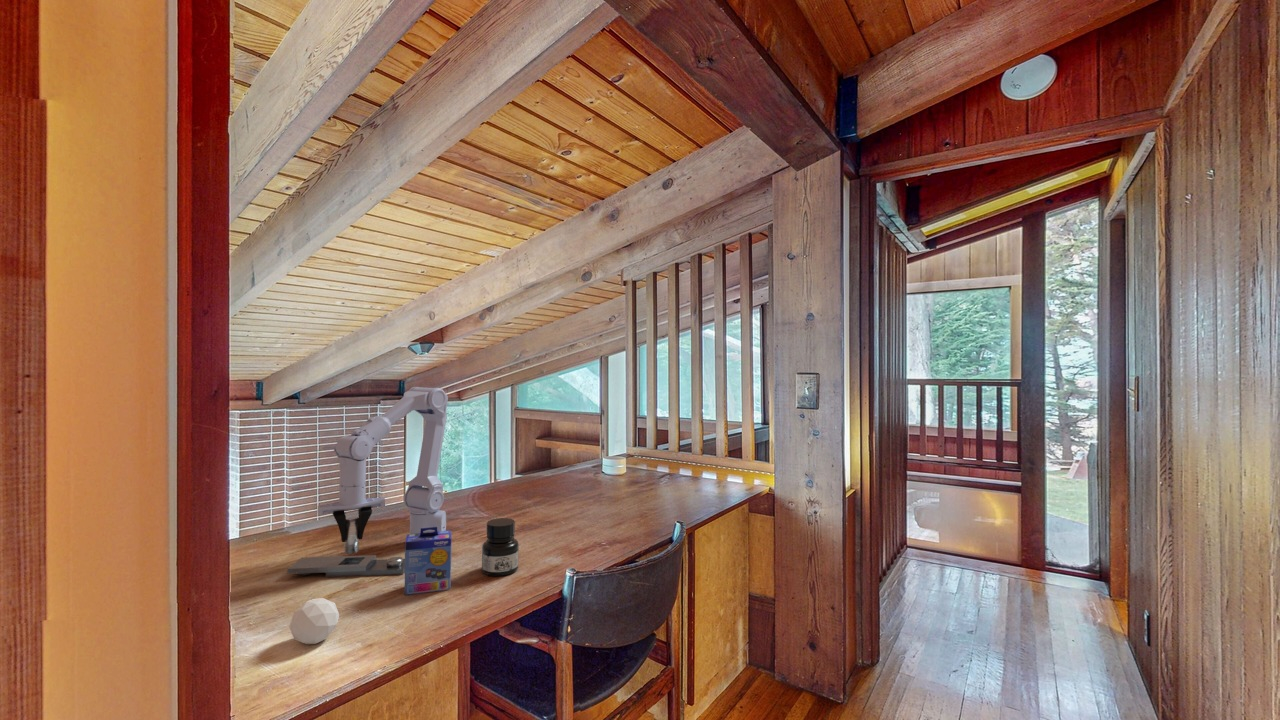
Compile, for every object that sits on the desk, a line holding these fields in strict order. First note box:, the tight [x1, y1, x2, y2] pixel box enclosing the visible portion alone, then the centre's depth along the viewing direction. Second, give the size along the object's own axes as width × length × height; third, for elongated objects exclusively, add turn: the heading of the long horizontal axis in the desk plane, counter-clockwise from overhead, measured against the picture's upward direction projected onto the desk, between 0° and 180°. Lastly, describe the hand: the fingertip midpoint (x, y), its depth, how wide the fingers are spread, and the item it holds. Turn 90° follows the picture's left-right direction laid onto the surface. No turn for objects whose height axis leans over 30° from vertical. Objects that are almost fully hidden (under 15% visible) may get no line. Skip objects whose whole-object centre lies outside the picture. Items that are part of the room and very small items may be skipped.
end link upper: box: [287, 554, 377, 576], centre depth 130 cm, size 18×7×2 cm, turn 98°
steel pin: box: [344, 516, 360, 555], centre depth 131 cm, size 3×3×8 cm
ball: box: [288, 597, 340, 645], centre depth 99 cm, size 8×8×8 cm
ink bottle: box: [481, 517, 520, 577], centre depth 133 cm, size 10×9×12 cm
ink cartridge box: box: [404, 527, 452, 596], centre depth 122 cm, size 10×6×14 cm, turn 111°
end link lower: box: [325, 556, 405, 578], centre depth 132 cm, size 18×7×2 cm, turn 98°
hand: (351, 539), depth 131 cm, fingers closed on steel pin, 3 cm apart
